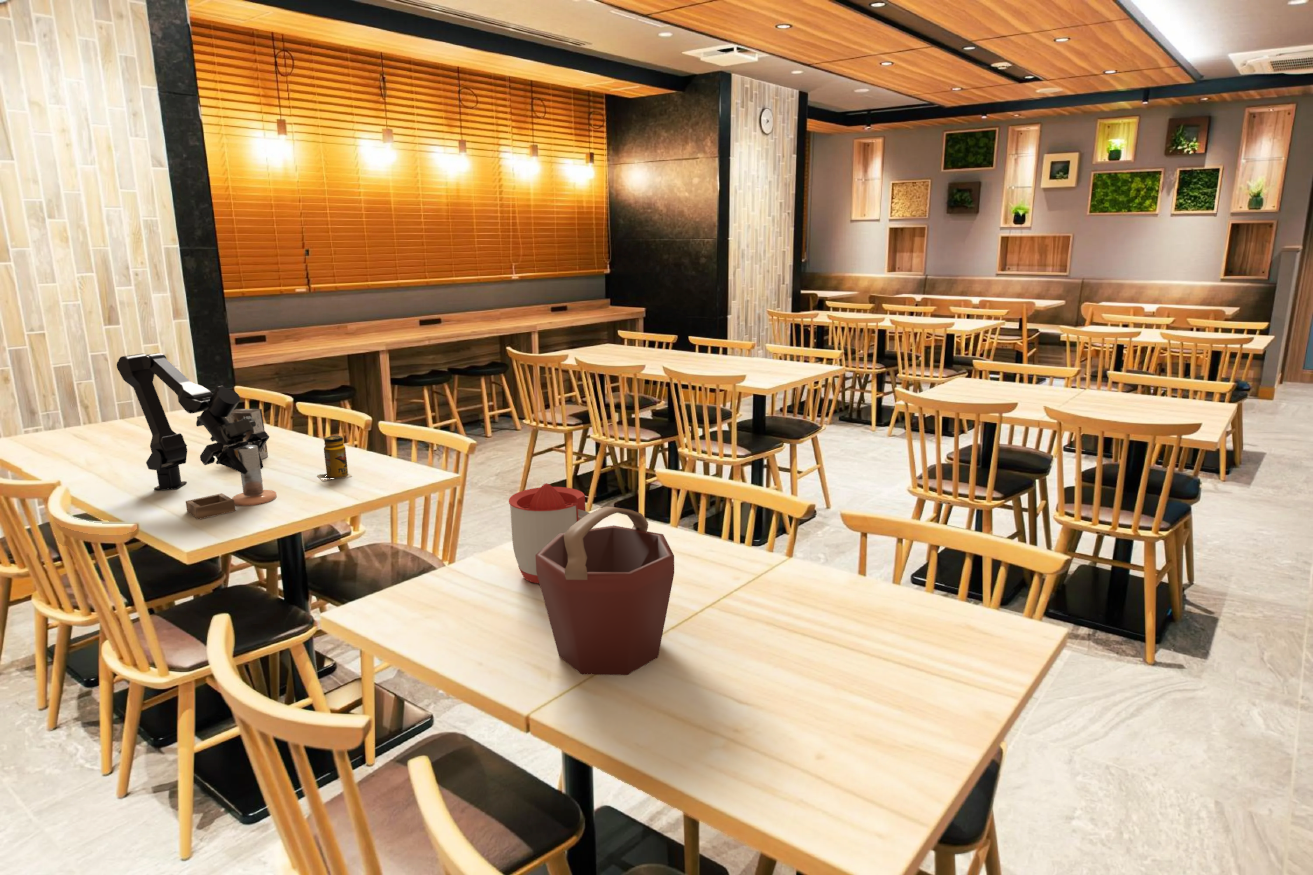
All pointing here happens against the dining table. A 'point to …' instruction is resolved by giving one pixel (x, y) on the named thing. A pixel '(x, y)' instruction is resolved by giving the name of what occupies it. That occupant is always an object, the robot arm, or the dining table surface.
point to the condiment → (335, 458)
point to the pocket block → (210, 506)
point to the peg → (250, 470)
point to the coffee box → (258, 418)
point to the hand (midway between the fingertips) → (254, 470)
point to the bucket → (607, 593)
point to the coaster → (254, 498)
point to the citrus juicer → (541, 521)
